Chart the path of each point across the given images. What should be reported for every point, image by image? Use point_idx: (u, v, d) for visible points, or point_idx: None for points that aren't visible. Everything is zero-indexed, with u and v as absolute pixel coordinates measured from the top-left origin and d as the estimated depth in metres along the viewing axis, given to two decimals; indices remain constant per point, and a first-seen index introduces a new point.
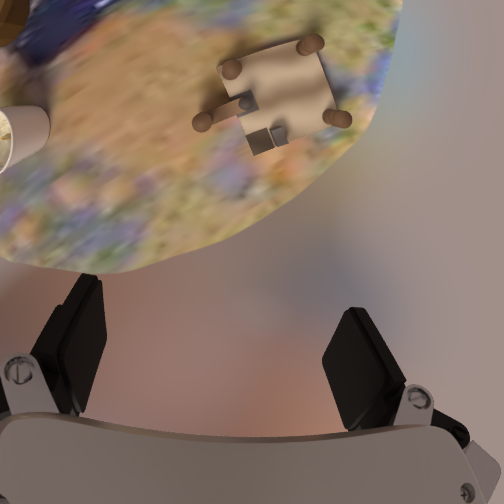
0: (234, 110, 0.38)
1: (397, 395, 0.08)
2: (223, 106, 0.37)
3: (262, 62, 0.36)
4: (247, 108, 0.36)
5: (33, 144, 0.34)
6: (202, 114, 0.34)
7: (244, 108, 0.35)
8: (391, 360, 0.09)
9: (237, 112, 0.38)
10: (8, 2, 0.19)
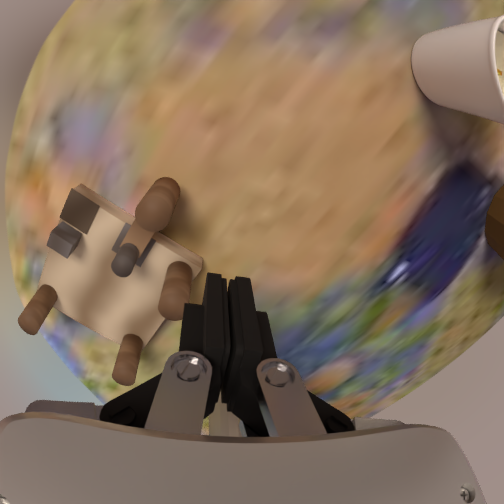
0: (134, 235, 0.24)
1: None
2: (151, 231, 0.24)
3: (155, 303, 0.29)
4: (115, 262, 0.22)
5: (440, 55, 0.17)
6: (160, 228, 0.20)
7: (118, 260, 0.22)
8: (253, 329, 0.09)
9: (128, 235, 0.24)
10: None
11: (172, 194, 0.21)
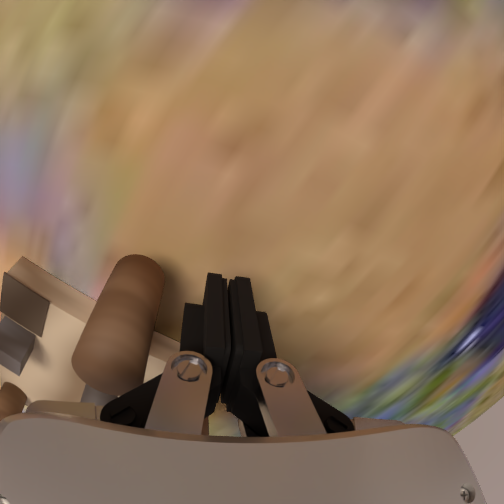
0: None
1: None
2: None
3: None
4: None
5: None
6: None
7: None
8: (253, 329, 0.09)
9: None
10: None
11: (143, 305, 0.10)
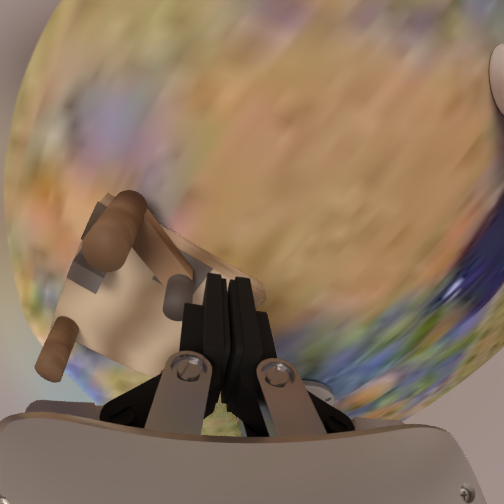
0: (160, 269, 0.19)
1: None
2: (164, 249, 0.19)
3: None
4: (167, 312, 0.18)
5: None
6: (123, 250, 0.14)
7: (166, 308, 0.18)
8: (253, 329, 0.09)
9: (158, 275, 0.20)
10: None
11: (112, 208, 0.15)
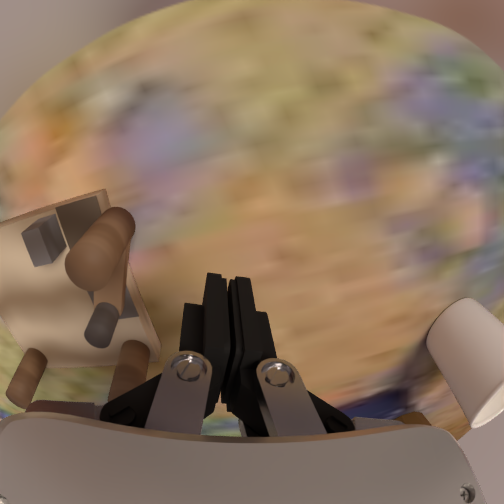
0: (102, 291, 0.18)
1: None
2: (119, 281, 0.18)
3: (87, 352, 0.22)
4: (87, 333, 0.16)
5: (470, 338, 0.23)
6: (104, 282, 0.13)
7: (89, 330, 0.16)
8: (253, 328, 0.09)
9: (96, 293, 0.18)
10: None
11: (112, 229, 0.15)
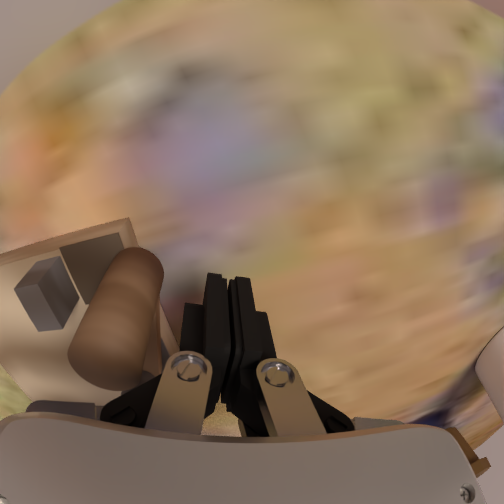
0: None
1: None
2: (151, 345, 0.13)
3: None
4: None
5: None
6: (134, 381, 0.08)
7: None
8: (253, 328, 0.09)
9: None
10: None
11: (131, 291, 0.10)
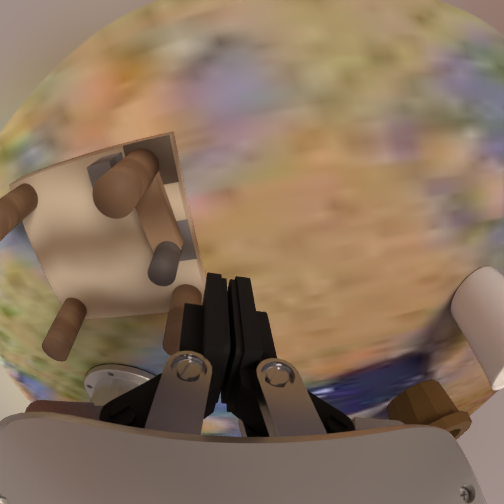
0: (154, 232, 0.20)
1: None
2: (164, 213, 0.19)
3: (134, 299, 0.24)
4: (151, 274, 0.18)
5: (493, 301, 0.24)
6: (133, 200, 0.14)
7: (151, 269, 0.18)
8: (253, 329, 0.09)
9: (150, 237, 0.20)
10: None
11: (129, 160, 0.15)
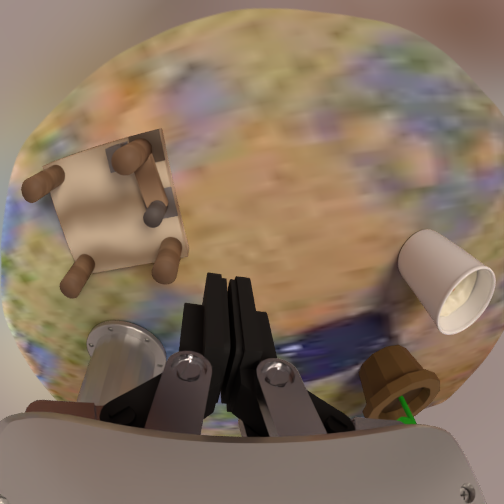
0: (148, 194, 0.28)
1: None
2: (155, 180, 0.28)
3: (132, 252, 0.32)
4: (145, 219, 0.27)
5: (429, 253, 0.33)
6: (136, 163, 0.23)
7: (145, 215, 0.27)
8: (253, 328, 0.09)
9: (145, 198, 0.28)
10: (373, 401, 0.40)
11: (134, 142, 0.24)
